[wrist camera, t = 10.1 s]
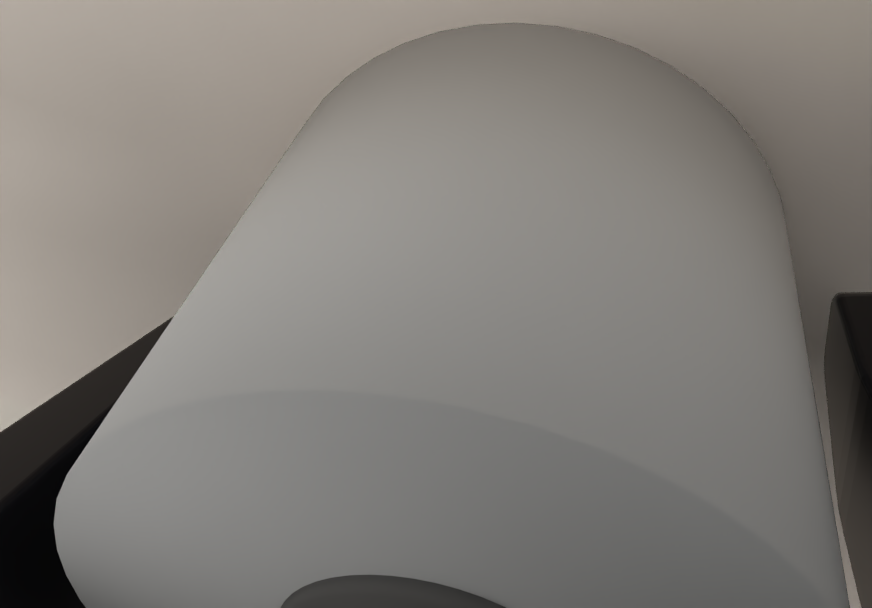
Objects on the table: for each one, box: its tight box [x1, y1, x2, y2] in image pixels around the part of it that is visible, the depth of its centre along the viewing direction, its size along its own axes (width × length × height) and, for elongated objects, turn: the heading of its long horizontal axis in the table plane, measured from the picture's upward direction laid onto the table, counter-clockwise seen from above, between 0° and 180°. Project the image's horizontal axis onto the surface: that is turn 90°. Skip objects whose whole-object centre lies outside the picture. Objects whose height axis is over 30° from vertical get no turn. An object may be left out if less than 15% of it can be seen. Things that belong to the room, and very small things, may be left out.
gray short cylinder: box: [54, 23, 850, 608], centre depth 8 cm, size 6×6×5 cm
